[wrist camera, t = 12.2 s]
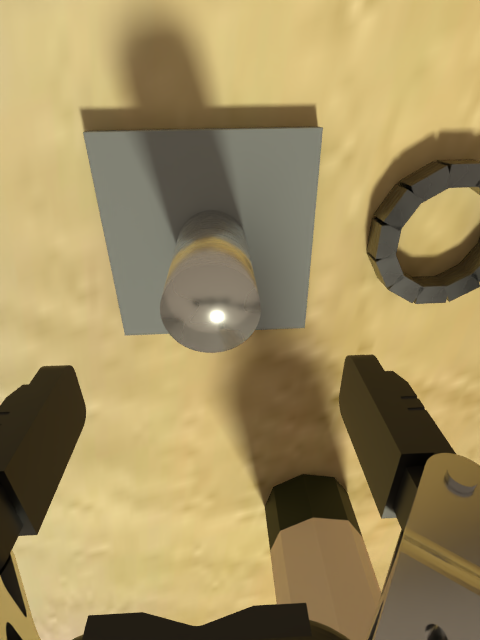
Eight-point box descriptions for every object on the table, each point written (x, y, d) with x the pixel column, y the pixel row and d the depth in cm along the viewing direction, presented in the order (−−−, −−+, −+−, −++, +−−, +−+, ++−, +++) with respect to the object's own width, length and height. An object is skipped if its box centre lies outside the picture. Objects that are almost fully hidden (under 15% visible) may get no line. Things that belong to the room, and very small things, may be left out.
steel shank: (246, 209, 21) (261, 262, 14) (246, 275, 23) (260, 350, 16) (174, 211, 20) (153, 266, 13) (181, 277, 22) (166, 354, 16)
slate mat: (318, 126, 20) (322, 127, 19) (301, 320, 26) (304, 327, 25) (89, 130, 19) (82, 132, 18) (128, 327, 25) (125, 335, 24)
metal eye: (525, 158, 21) (546, 162, 20) (478, 290, 25) (493, 300, 24) (382, 161, 21) (392, 165, 19) (359, 295, 25) (366, 305, 24)
